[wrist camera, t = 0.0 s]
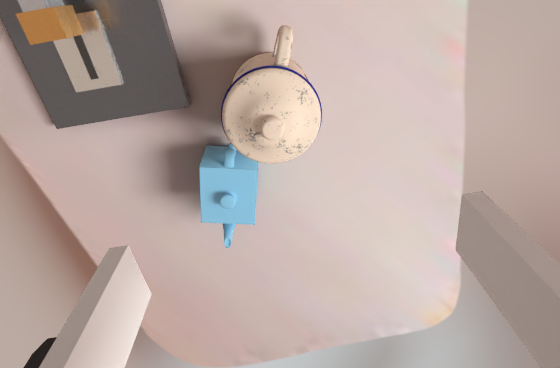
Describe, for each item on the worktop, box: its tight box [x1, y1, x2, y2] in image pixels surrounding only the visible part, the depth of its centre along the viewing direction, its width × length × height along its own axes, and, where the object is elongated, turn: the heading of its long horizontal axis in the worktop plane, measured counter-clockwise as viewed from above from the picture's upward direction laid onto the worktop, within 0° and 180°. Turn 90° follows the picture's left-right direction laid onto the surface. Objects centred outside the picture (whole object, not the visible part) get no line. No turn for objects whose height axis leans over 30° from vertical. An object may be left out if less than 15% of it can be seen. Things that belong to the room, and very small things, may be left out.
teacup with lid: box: [221, 25, 322, 164], centre depth 33 cm, size 12×9×12 cm
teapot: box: [199, 143, 258, 248], centre depth 41 cm, size 12×6×8 cm, turn 175°
